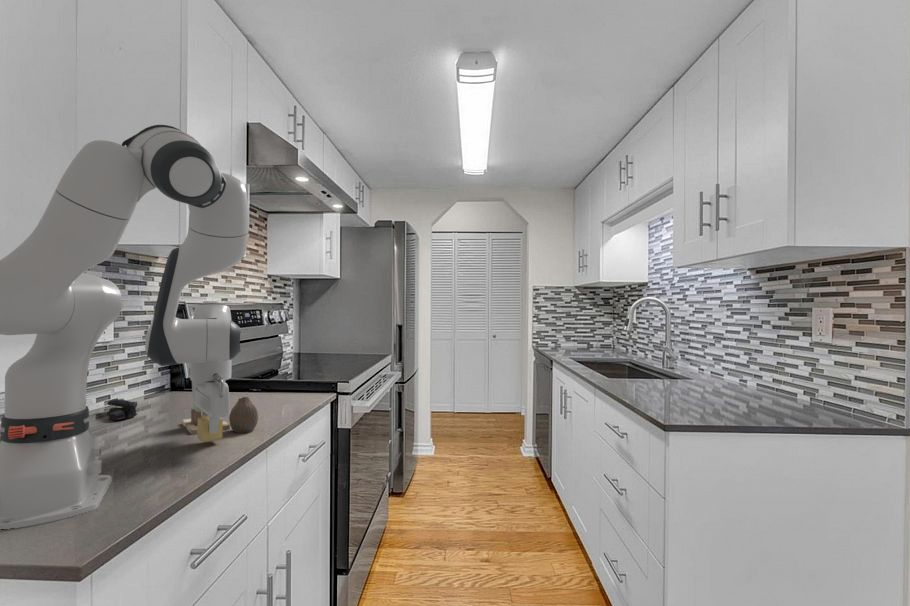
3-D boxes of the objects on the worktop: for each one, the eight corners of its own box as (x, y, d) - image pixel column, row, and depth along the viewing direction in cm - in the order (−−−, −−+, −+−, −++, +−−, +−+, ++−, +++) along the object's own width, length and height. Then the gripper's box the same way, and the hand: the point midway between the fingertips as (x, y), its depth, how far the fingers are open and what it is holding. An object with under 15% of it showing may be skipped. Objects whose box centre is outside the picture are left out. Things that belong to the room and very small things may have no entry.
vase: (246, 435, 125) (246, 401, 125) (223, 433, 127) (223, 399, 127) (263, 429, 132) (263, 396, 132) (241, 427, 134) (241, 394, 134)
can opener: (141, 419, 143) (141, 400, 143) (113, 423, 138) (113, 403, 138) (124, 410, 155) (125, 392, 155) (97, 413, 150) (98, 395, 150)
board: (229, 429, 131) (229, 425, 131) (191, 434, 126) (191, 430, 126) (217, 419, 142) (217, 415, 142) (182, 424, 137) (182, 419, 137)
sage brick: (217, 409, 134) (217, 393, 134) (196, 412, 130) (196, 395, 130) (213, 406, 137) (213, 390, 137) (193, 409, 134) (193, 392, 134)
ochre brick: (222, 438, 118) (222, 419, 118) (201, 441, 115) (201, 421, 115) (217, 434, 121) (217, 415, 121) (197, 436, 118) (197, 417, 118)
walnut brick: (220, 422, 134) (220, 409, 134) (195, 426, 130) (195, 412, 130) (215, 418, 138) (215, 406, 138) (191, 421, 135) (191, 408, 135)
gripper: (237, 376, 112) (236, 437, 112) (215, 366, 128) (213, 419, 128) (206, 378, 108) (205, 442, 108) (187, 367, 124) (186, 423, 124)
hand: (209, 429), depth 118 cm, fingers closed on ochre brick, 4 cm apart
